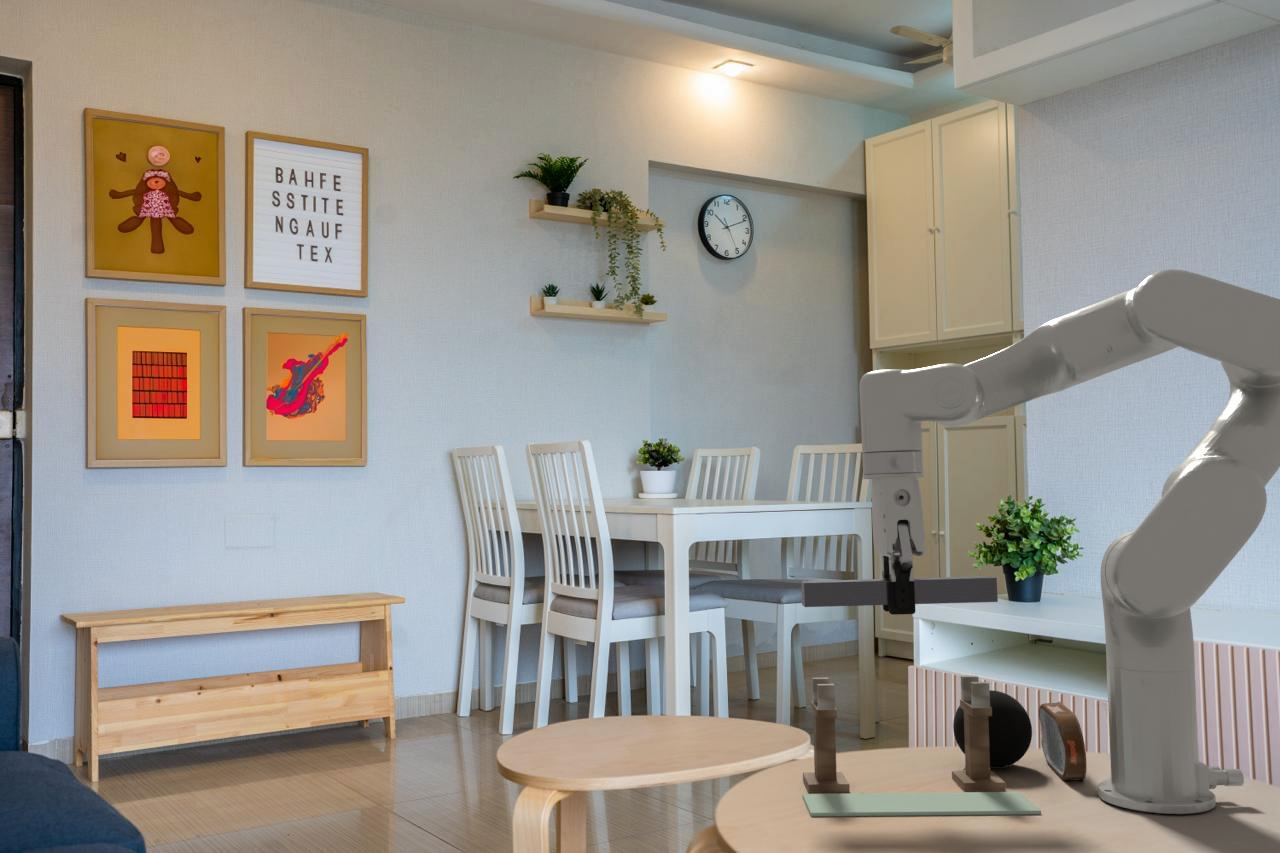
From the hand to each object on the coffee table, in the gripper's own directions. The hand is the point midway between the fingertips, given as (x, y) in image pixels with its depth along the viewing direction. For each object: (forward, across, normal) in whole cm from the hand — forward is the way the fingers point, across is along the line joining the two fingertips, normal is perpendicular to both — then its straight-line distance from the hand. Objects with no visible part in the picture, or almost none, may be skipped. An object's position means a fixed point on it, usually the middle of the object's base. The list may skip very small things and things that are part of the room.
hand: (899, 611), depth 141 cm
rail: (-1, 0, 0) cm, 1 cm away
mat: (+22, -9, +1) cm, 23 cm away
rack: (+22, 0, +1) cm, 22 cm away
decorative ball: (+22, +9, -13) cm, 27 cm away
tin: (+22, +6, -21) cm, 31 cm away
